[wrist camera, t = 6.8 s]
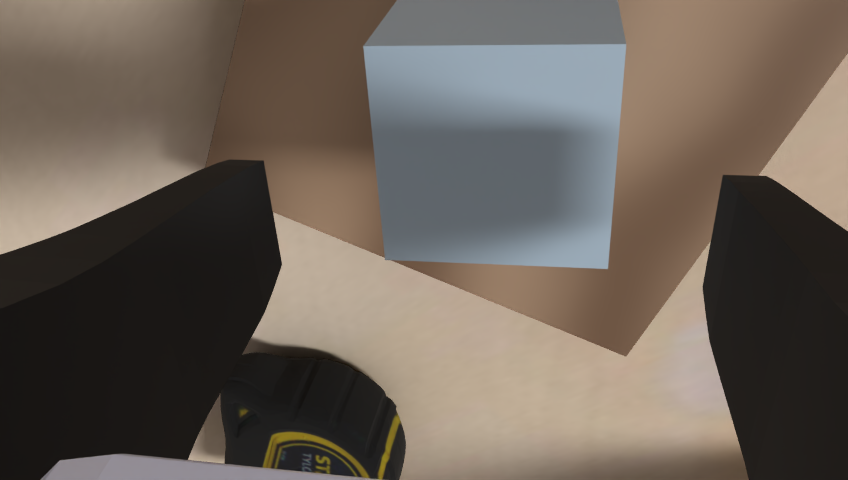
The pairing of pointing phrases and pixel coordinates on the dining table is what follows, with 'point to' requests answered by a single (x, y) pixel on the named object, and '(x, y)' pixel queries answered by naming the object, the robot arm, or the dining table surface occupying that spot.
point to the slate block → (497, 129)
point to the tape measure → (310, 418)
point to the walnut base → (637, 146)
